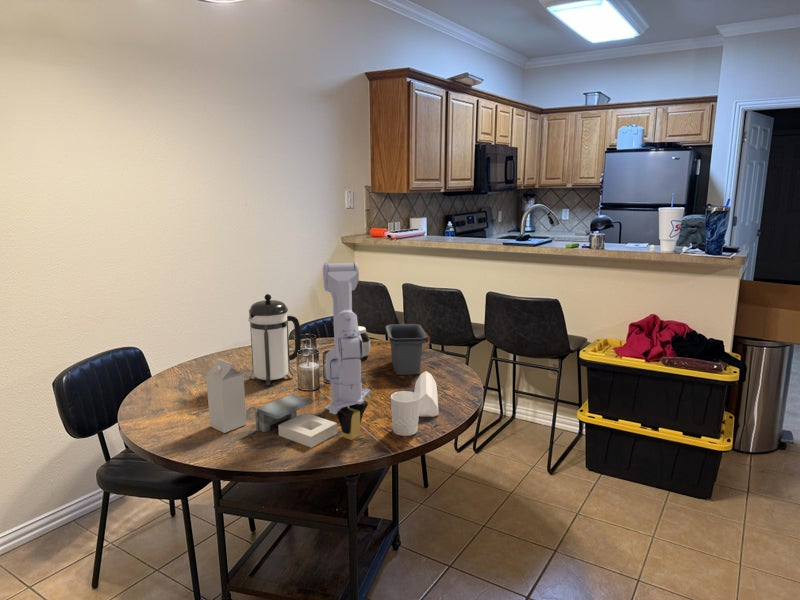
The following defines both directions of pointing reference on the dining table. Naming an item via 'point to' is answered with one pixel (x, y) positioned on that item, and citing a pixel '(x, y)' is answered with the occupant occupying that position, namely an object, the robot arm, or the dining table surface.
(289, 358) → the coffee press
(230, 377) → the milk carton
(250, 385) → the dining table surface
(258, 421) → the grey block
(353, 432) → the peg
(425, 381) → the white pentagonal prism
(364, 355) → the spread jar
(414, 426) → the white cup
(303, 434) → the socket
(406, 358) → the storage bin
